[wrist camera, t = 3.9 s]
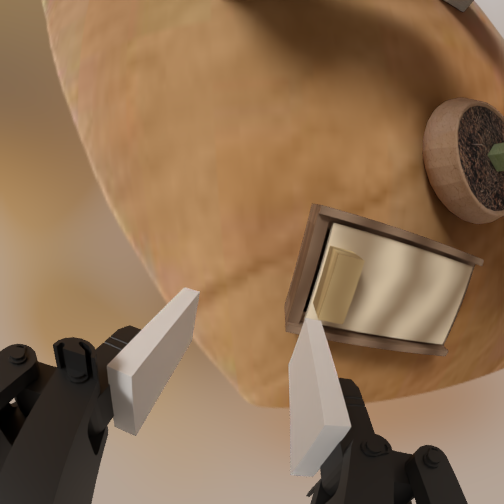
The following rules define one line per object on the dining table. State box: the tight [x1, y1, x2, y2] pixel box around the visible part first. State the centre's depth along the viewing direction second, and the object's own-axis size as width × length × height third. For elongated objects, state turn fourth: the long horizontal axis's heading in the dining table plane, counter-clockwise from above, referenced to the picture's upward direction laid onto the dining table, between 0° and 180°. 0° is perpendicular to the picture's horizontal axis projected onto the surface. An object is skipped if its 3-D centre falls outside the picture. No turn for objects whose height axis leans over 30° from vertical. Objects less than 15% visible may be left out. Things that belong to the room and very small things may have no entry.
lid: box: [304, 222, 473, 344], centre depth 24 cm, size 19×10×5 cm, turn 77°
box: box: [285, 204, 484, 356], centre depth 28 cm, size 22×13×7 cm, turn 77°
